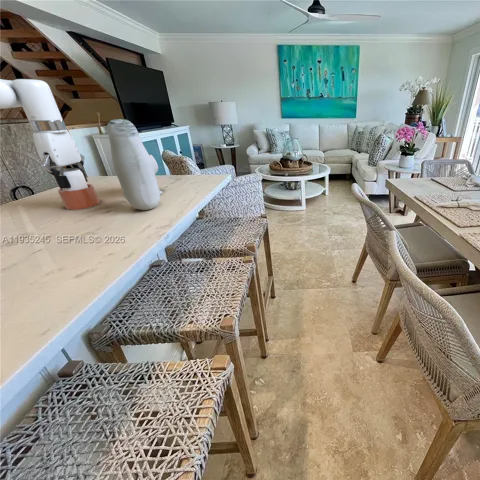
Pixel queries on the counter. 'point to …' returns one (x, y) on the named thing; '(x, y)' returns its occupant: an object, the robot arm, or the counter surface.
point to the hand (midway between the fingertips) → (74, 184)
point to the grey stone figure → (133, 165)
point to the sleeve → (79, 198)
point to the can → (75, 179)
